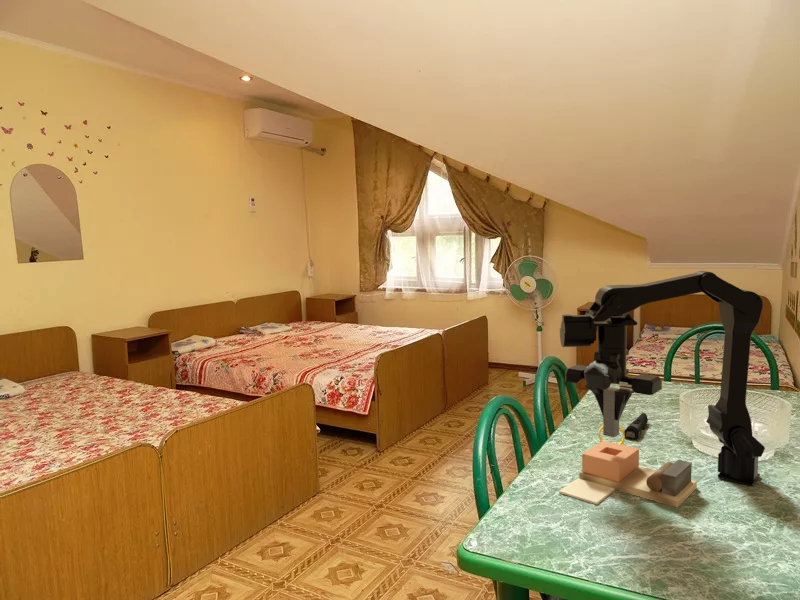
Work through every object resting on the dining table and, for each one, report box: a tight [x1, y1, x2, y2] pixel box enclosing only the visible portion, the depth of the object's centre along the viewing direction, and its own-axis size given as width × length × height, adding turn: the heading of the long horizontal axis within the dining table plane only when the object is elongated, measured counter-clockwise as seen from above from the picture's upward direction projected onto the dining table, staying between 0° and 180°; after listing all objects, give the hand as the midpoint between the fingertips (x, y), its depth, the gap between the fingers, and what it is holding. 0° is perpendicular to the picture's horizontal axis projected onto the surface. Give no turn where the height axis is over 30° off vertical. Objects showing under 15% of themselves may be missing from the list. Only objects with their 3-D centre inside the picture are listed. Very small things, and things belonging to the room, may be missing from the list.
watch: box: [598, 425, 626, 445], centre depth 142 cm, size 6×3×6 cm, turn 70°
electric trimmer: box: [624, 412, 649, 441], centre depth 153 cm, size 4×16×3 cm, turn 145°
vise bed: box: [578, 459, 698, 508], centre depth 121 cm, size 20×11×6 cm, turn 46°
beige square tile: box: [559, 478, 616, 505], centre depth 119 cm, size 8×8×1 cm
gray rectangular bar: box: [602, 386, 620, 438], centre depth 124 cm, size 2×2×10 cm
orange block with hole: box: [581, 440, 640, 482], centre depth 125 cm, size 8×10×4 cm
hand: (611, 418), depth 124 cm, fingers closed on gray rectangular bar, 2 cm apart
